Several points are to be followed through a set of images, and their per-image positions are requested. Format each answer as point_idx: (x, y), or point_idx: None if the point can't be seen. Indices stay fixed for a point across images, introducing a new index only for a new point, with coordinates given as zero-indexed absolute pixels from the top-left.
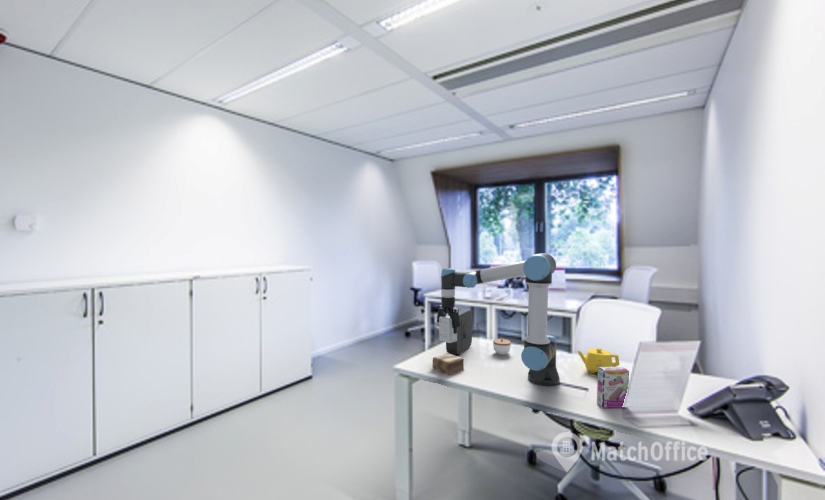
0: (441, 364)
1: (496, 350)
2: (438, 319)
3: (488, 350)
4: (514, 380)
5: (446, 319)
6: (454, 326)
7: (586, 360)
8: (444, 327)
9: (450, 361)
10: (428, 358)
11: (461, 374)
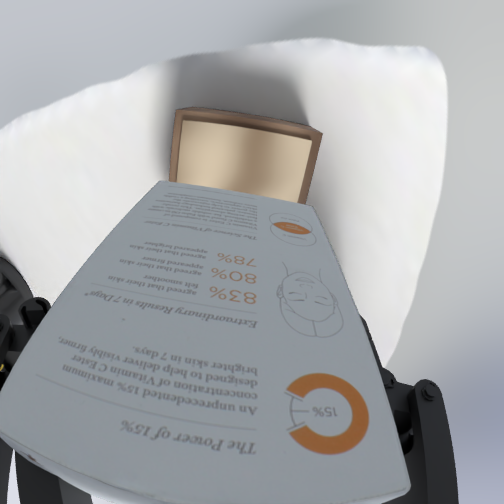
0: (241, 115)
1: None
2: (421, 427)
3: None
4: (24, 242)
5: (79, 454)
6: (25, 329)
7: None
8: (202, 290)
9: (181, 140)
10: (394, 229)
11: (150, 156)
